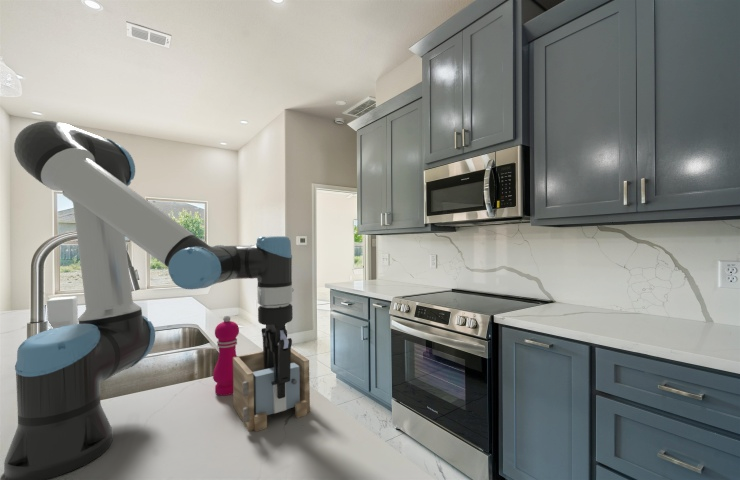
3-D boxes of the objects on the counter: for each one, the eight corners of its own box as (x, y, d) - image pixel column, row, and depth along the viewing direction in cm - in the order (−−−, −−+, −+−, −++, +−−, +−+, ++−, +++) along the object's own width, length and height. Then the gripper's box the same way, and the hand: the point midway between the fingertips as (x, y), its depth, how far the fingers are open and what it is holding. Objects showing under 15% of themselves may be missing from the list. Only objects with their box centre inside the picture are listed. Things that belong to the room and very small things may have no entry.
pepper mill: (232, 397, 88) (230, 319, 88) (207, 395, 90) (205, 318, 90) (247, 385, 95) (246, 313, 95) (224, 383, 97) (223, 312, 97)
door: (257, 420, 74) (256, 377, 74) (252, 412, 77) (251, 372, 77) (301, 406, 79) (300, 367, 79) (294, 400, 82) (294, 362, 82)
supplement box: (78, 327, 164) (78, 295, 163) (74, 331, 156) (73, 298, 156) (53, 329, 159) (52, 297, 159) (47, 334, 151) (46, 300, 151)
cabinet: (245, 434, 71) (244, 376, 71) (229, 407, 83) (228, 357, 83) (311, 413, 80) (310, 361, 80) (289, 391, 91) (288, 346, 91)
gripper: (305, 307, 74) (307, 417, 74) (279, 297, 87) (280, 390, 87) (270, 312, 69) (272, 428, 70) (248, 301, 83) (250, 398, 83)
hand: (277, 407), depth 78 cm, fingers closed on door, 3 cm apart
